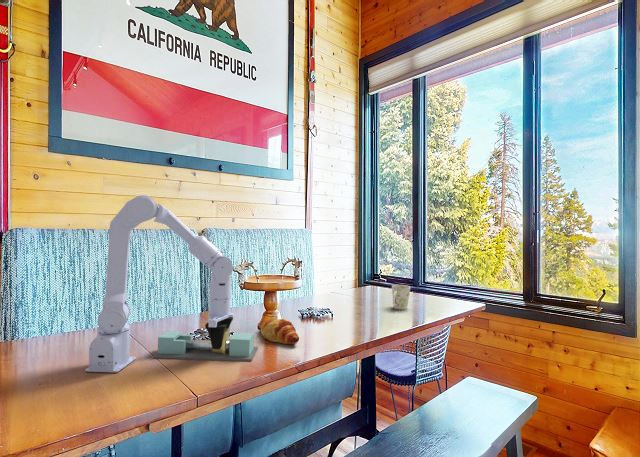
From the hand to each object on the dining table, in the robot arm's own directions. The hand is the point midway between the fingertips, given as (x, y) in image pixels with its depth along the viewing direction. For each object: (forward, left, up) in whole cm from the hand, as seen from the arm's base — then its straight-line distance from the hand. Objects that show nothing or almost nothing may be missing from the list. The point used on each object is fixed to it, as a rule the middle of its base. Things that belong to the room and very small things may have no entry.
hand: (219, 345), depth 105 cm
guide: (0, +3, -2) cm, 4 cm away
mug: (+63, -64, -2) cm, 90 cm away
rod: (0, +1, -1) cm, 2 cm away
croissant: (+16, -15, -3) cm, 22 cm away
